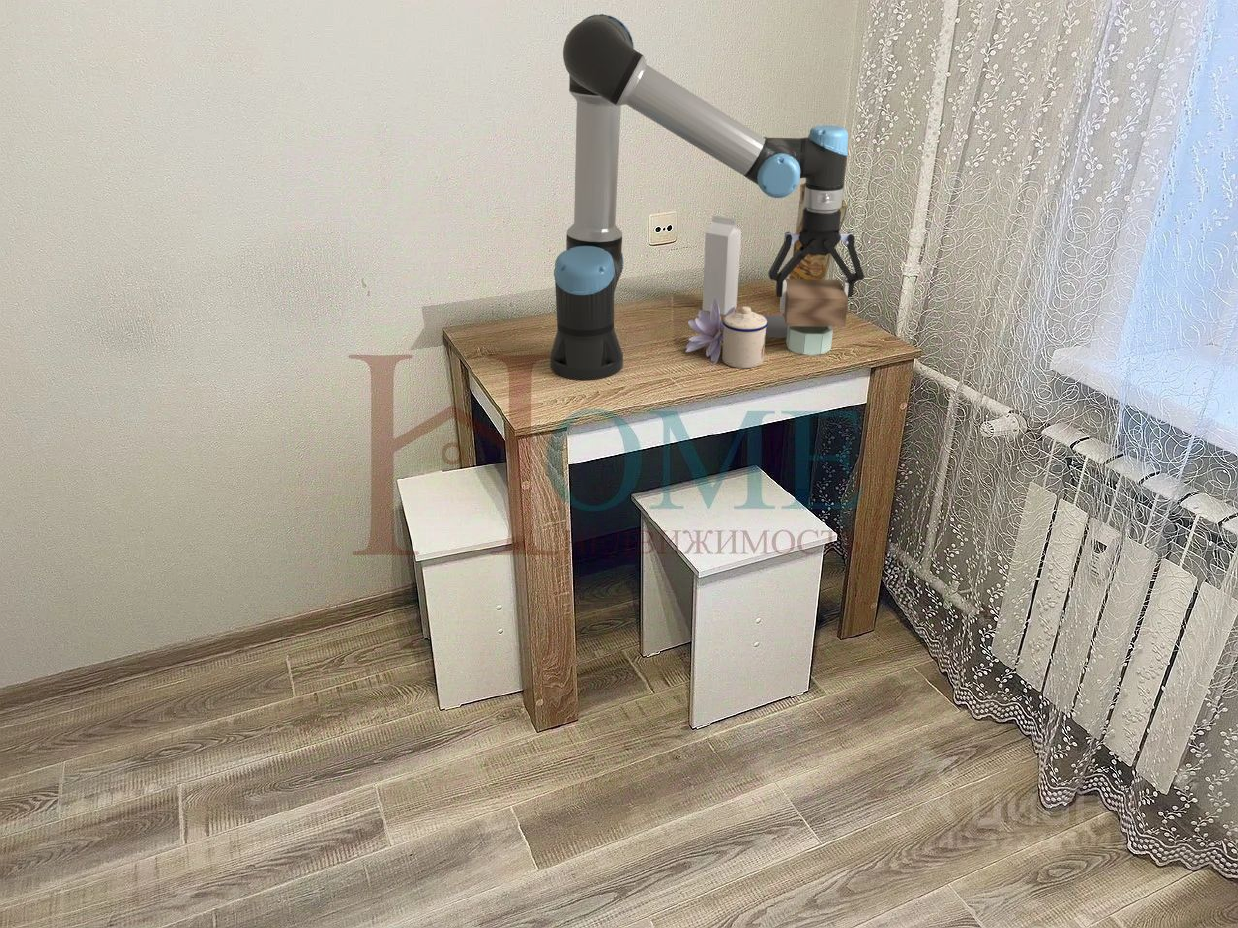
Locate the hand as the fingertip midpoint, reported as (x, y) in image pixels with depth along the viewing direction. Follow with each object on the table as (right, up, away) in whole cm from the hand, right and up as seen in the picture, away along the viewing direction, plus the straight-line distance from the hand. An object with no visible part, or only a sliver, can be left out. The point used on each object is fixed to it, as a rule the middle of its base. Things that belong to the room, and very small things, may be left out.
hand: (812, 311), depth 197 cm
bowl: (0, -7, +4) cm, 8 cm away
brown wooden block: (0, -1, +1) cm, 1 cm away
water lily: (-22, -9, +2) cm, 24 cm away
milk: (-17, +4, +25) cm, 30 cm away
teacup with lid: (-15, -10, 0) cm, 18 cm away
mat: (-7, -1, +15) cm, 17 cm away
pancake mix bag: (+4, +4, +24) cm, 25 cm away
